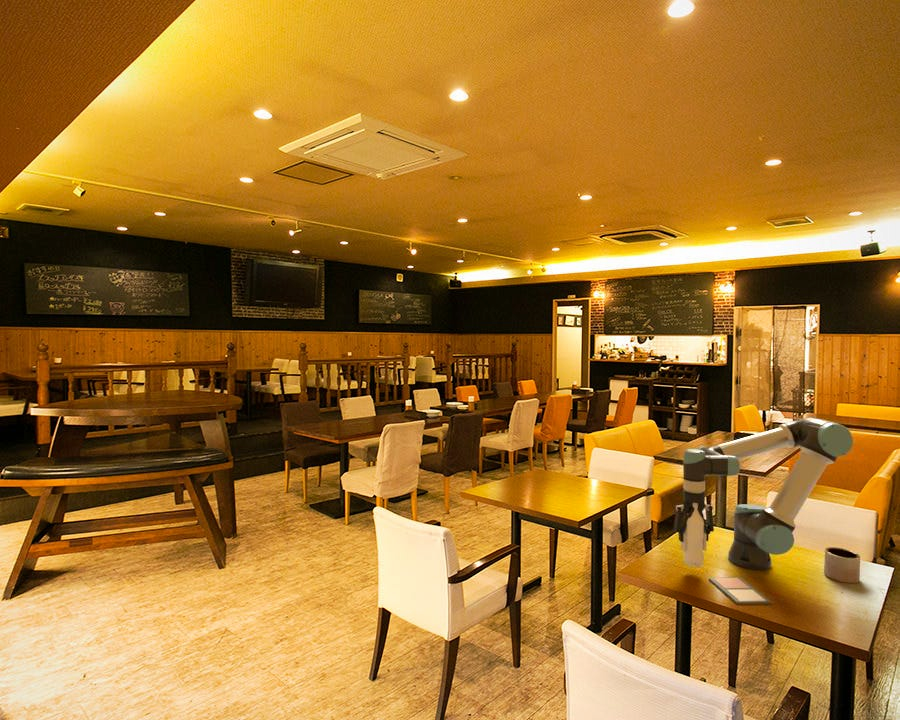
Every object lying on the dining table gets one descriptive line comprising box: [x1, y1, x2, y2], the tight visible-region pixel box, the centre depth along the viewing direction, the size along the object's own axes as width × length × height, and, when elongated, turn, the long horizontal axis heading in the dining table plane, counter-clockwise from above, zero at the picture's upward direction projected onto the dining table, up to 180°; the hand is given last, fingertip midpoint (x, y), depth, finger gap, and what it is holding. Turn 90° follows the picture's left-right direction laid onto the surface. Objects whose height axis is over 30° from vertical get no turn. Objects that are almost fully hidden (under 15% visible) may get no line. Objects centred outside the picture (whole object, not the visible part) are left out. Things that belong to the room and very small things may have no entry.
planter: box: [823, 546, 861, 584], centre depth 197 cm, size 11×11×10 cm
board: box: [708, 576, 772, 605], centre depth 186 cm, size 12×18×1 cm, turn 2°
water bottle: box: [682, 503, 705, 569], centre depth 199 cm, size 7×7×25 cm
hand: (693, 549), depth 199 cm, fingers closed on water bottle, 7 cm apart
